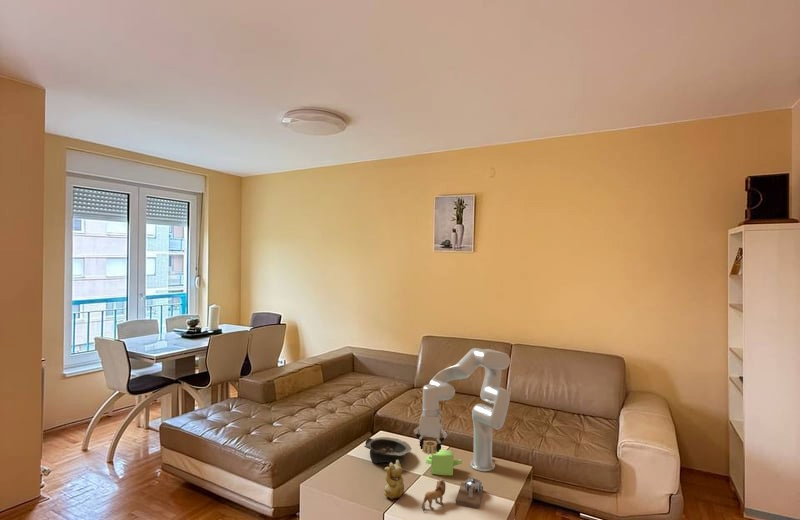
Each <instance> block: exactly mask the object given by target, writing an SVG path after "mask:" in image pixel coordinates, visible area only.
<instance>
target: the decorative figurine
mask: <svg viewBox="0 0 800 520" xmlns="http://www.w3.org/2000/svg"><path fill="white" fill-rule="evenodd" d="M400 462H401V461H400ZM400 462H399V460H396V464H393V463H390V464H389V463H388V465H389V466H386V467H384V471H386V476H385V482H386V483H387V484H385V486H384V492H383V494H384V496H386V497H387V498H389V499H391V500H392V501H394V500H396V499H398V498H401V497H402V495H403V494H404V492H405V484H404V477H403V476H402V475H403V468H402V467H401V463H400Z"/></svg>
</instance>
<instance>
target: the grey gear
mask: <svg viewBox="0 0 800 520" xmlns="http://www.w3.org/2000/svg"><path fill="white" fill-rule="evenodd" d="M464 483H465V489H466V490H467V491H469V488H473V493H475V492H477V493H479V491H481V489H482V486H483V485H482V481H481V480H480V479H478V478H474V477H471V478H470V477H468V478H467V479H465V480H464Z"/></svg>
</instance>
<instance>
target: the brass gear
mask: <svg viewBox="0 0 800 520" xmlns="http://www.w3.org/2000/svg"><path fill="white" fill-rule="evenodd" d="M437 443H438V442H437V440H435V441H434V440H424V442H423V444H422V449H421V451H422V453H424V454H425V455H426V454H427V456H432V455H433V454H436V452H437ZM437 453H438V452H437Z"/></svg>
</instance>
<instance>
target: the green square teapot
mask: <svg viewBox="0 0 800 520" xmlns="http://www.w3.org/2000/svg"><path fill="white" fill-rule="evenodd" d="M425 464H428V465H431V467H430V469H431V472H430V473H431V474H432V475H439V476H440V475H441V476H454V466H458V465H462V464H463V460H462V459H456V460H454V451H453V450H449V449H448V450H447V449H441V450H439V452H438V453H437V452H436V454H433V455H427V456H426V458H425Z"/></svg>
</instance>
